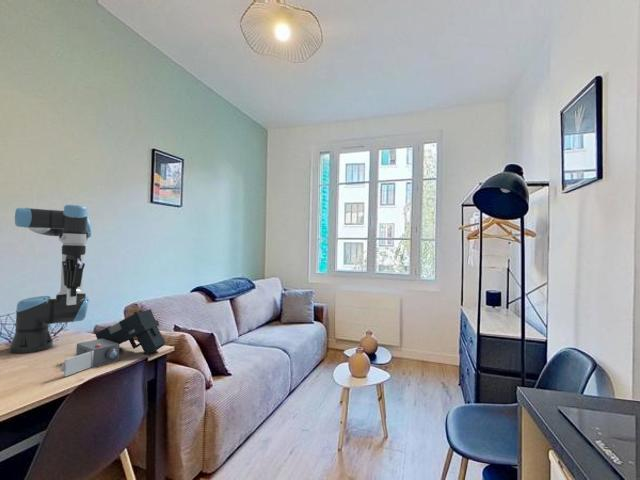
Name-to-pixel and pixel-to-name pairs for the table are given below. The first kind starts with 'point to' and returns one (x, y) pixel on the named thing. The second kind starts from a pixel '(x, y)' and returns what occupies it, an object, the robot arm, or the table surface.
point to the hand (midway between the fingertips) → (71, 304)
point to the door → (77, 363)
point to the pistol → (136, 332)
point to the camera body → (100, 351)
